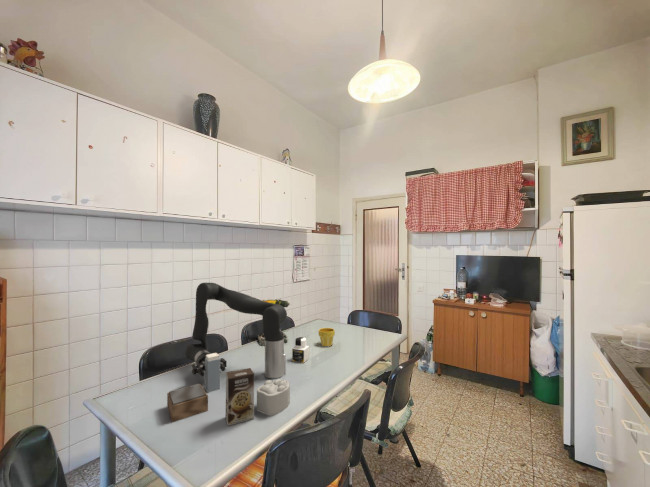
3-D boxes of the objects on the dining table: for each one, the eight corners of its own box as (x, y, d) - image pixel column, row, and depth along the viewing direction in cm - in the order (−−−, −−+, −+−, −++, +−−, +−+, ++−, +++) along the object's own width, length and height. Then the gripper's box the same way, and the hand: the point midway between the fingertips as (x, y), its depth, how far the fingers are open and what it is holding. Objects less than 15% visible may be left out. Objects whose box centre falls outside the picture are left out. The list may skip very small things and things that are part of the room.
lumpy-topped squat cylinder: (253, 408, 107) (253, 385, 107) (278, 394, 117) (278, 373, 118) (271, 417, 101) (271, 393, 101) (296, 402, 111) (296, 380, 111)
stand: (200, 397, 115) (200, 382, 115) (207, 410, 106) (207, 394, 106) (167, 407, 108) (167, 391, 108) (172, 422, 99) (172, 404, 99)
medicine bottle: (292, 361, 153) (292, 339, 153) (298, 356, 159) (298, 335, 160) (303, 363, 150) (303, 340, 150) (309, 358, 157) (309, 336, 157)
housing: (216, 384, 126) (216, 352, 127) (219, 389, 122) (219, 355, 123) (204, 388, 123) (205, 354, 124) (207, 392, 119) (207, 358, 120)
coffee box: (227, 426, 96) (227, 378, 96) (225, 416, 101) (225, 371, 102) (254, 419, 100) (254, 373, 100) (250, 410, 106) (250, 366, 106)
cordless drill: (261, 347, 176) (261, 303, 177) (256, 338, 194) (256, 298, 195) (290, 343, 184) (289, 300, 185) (282, 335, 201) (282, 296, 202)
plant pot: (316, 343, 182) (316, 328, 183) (331, 341, 185) (331, 327, 186) (321, 348, 172) (321, 332, 173) (337, 346, 175) (336, 331, 176)
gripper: (188, 355, 131) (195, 366, 117) (219, 349, 139) (230, 358, 126) (188, 371, 130) (195, 385, 117) (219, 364, 139) (230, 375, 126)
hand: (213, 371), depth 122 cm, fingers open, 8 cm apart
